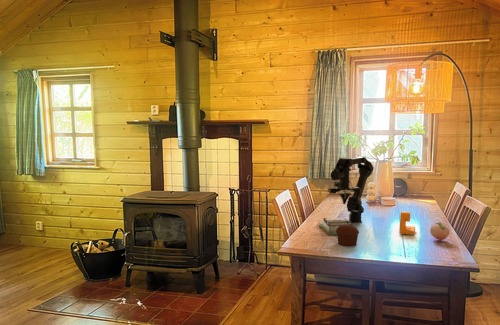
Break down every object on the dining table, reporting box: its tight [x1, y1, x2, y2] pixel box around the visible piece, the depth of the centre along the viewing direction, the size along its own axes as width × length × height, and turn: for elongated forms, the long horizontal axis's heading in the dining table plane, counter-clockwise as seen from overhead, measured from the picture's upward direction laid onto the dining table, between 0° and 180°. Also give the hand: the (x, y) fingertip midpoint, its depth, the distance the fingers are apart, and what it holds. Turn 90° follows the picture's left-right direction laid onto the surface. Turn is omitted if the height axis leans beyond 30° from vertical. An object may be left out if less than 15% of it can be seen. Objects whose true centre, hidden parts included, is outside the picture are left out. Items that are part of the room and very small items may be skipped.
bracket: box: [398, 211, 416, 236], centre depth 210 cm, size 11×7×12 cm, turn 151°
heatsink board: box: [318, 217, 353, 237], centre depth 218 cm, size 16×23×6 cm
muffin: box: [336, 224, 360, 248], centre depth 191 cm, size 12×11×10 cm
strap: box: [327, 223, 349, 226], centre depth 213 cm, size 13×3×1 cm, turn 94°
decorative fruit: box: [429, 222, 451, 242], centre depth 195 cm, size 9×8×10 cm
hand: (344, 204), depth 227 cm, fingers closed
